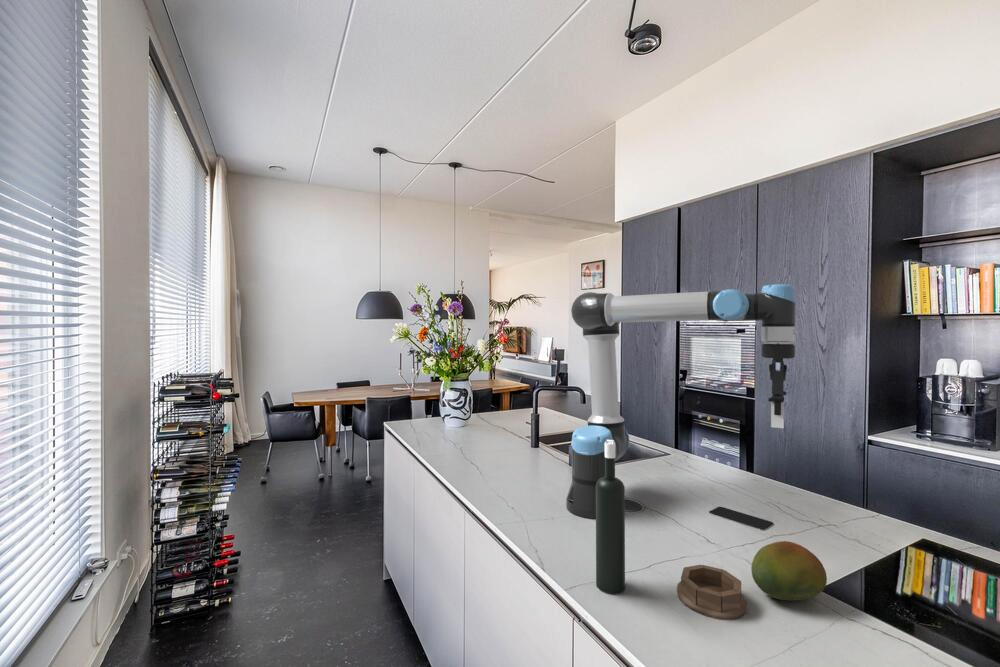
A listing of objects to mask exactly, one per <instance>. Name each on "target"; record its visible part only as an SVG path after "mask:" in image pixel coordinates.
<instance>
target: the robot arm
mask: <svg viewBox="0 0 1000 667" xmlns="http://www.w3.org/2000/svg"><path fill="white" fill-rule="evenodd" d="M795 288H796V287H794V286H793V285H792V284H788V283H787V284H783V283H782V284H781V283H778V284H767V285H763V286H762V288H761V291H760V292H757V293H744V292H743V291H741V290H738V289H736V288H735V289H734V288H728V289H727V288H726V289H723V290H715V291H714V290H713V291H695V292H694V291H693V292H673V293H656V294H655V293H654V294H634V295H633V294H632V295H616V296H615V295H614V294H613V293H611V292H608V293H607V292H606V293H605V292H603V293H597V292H591V291H590V292H584V293H582V294H579V296H577V297H576V298H575V300H574V301H573V302H572V305H571V309H570V310H571V311H570V312H571V318H572V319H573V321H574V323H575V324H576V325H577V326H578V327H580V328H581V329H582V337H583V338H584V339H585V340H586V341H587V344H588V345H587V347H588V364H589V365H588V366H589V383H590V384H589V385H590V399H591V400H590V402H591V403H590V404H591V415H590V416H589V418H587V425H585V426H580V427H578V428H576V429H575V430H574V431H573V433H572V435H571V442H570V443H571V478H572V479H571V484H570V486H569V488H568V489H569V490H568V493H567V496H566V499H565V501H566V502H565V507H566V509H567V510H568V512H570V513H572V514H573V515H575V516H578V517H582V518H588V519H596V483H597V481H598V480H599V479H600V478H602V477H605V442H606V441H607V440H614V442H615V462H617V461H618V460H620V459H621V458H622V457H624V455H625V454H626V453H627V451H628V449H629V446H630V442H631V441H630V435H629V432H628V431H627V429H626V427H625V424H626V423H625V418H624V417H623V416H622V415H620V410H619V409H620V408H619V389H618V372H617V371H618V370H617V368H618V367H617V354H616V353H617V352H616V351H617V350H616V339H617V338H618V337H619V336H620V323H641V322H642V323H647V322H649V323H650V322H652V323H653V322H654V323H655V322H686V321H687V322H688V321H689V322H691V321H693V322H695V321H716V322H717V321H718V322H727V323H728V322H748V321H750V322H751V321H755V322H760V321H761V330H760V331H761V332H760V333H761V342H762V344H761V357H762V358H763V359H765V358H767V359H772V361H771V364H769V365H768V370H769V379H770V381H771V384H772V385H771V396H770V397H768V402H770V403H771V405H770V407H771V408H770V418H771V419H770V428H776V429H777V428H778V429H784V428H785V427H784V426H785V425H784V424H785V420H784V419H785V402H784V401H785V397H784V396H786V395H787V391H785V390H784V386H785V385H784V383H785V382H784V381H786V377H787V375H786V374H787V368H788V365H787V364H785V363H784V362H785V361H784V359H794V358H795V357H796V345H795V344H793V343H794V342H796V335H798V333H799V332H798V330H795V329H796V328H795V327H796V307H797V306H796V303H797V302H796V289H795Z"/></svg>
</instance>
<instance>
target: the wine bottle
mask: <svg viewBox="0 0 1000 667" xmlns="http://www.w3.org/2000/svg"><path fill="white" fill-rule="evenodd" d="M625 488H626V487H625V484H624V482H623V481H622V480H621V479H620V478H617V477H616V461H615V442H614V440H607V441H606V442H605V477H602V478H600V479H599V480H598V481H597V483H596V518H595V585H596V588H597V589H598V588H599V589H598V590H600V592H603V593H605V594H609V595H618V594H619V595H620V594H621V593H623V592H624V591H625V590H626V533H625V532H626V522H625V521H626V518H625V517H626V511H625V510H626V508H625V507H626V505H625V504H626V503H625V500H626V494H625V493H626V489H625Z"/></svg>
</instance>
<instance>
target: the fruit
mask: <svg viewBox="0 0 1000 667" xmlns="http://www.w3.org/2000/svg"><path fill="white" fill-rule="evenodd" d="M750 567H751V577H752V579H753V581H754V583H755V584H756V585H757V587H758V589H760V590H761V591H762V592H763V593H764V594H766V595H767V596H769V597H772V598H774V599H777V600H781V601H804V600H808V599H811V598H813V597H817V596H818V595H819V594H821V593H822V592H823V591H824V590H825V588H826V586H827V581H828V578H827V577H828V576H827V571H826V569H825V567H824V565H823V563H822V562H821V560H820V559H819V558H818V556H816V555H815V554H814V553H813V552H811V551H810V550H809V549H808V548H806V547H804V546H803V545H801V544H798V543H796V542H793V541H787V540H783V541H782V540H781V541H775V542H772V543H768V544H766V545H764V546H762V547H761V548H760V549H758V551H757V552H756V553H755V555H754V556H753V559H752V562H751V566H750Z"/></svg>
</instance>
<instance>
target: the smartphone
mask: <svg viewBox="0 0 1000 667" xmlns="http://www.w3.org/2000/svg"><path fill="white" fill-rule="evenodd" d="M708 514H710V515H713V516H715V517H718V518H722V519H724V520H728V521H730V522H733V523H737V524H740V525H743V526H745V527H749V528H752V529H755V530H758V531H764V532H765V531H767V530H768V529H770V528H771V527H773V526H774V525H775V523H774V522H772V521H770V520H767V519H764V518H760V517H757V516H754V515H750V514H747V513H743V512H740V511H737V510H734V509H730V508H727V507H724V506H717V507H715V508H713V509H711V510H709V511H708Z"/></svg>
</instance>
